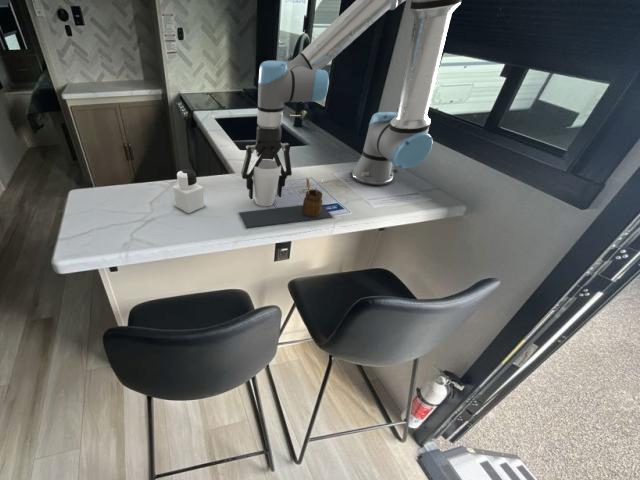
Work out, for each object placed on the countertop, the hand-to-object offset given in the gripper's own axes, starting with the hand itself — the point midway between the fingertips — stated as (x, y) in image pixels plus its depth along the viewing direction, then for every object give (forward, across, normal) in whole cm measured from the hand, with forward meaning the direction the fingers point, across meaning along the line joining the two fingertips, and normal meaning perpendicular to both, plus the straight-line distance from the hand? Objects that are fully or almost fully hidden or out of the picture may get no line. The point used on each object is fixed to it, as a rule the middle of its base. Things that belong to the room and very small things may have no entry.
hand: (265, 196), depth 112 cm
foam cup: (+2, 0, 0) cm, 2 cm away
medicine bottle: (+2, +26, -1) cm, 26 cm away
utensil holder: (+2, -13, +11) cm, 17 cm away
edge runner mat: (+2, -4, +10) cm, 12 cm away
